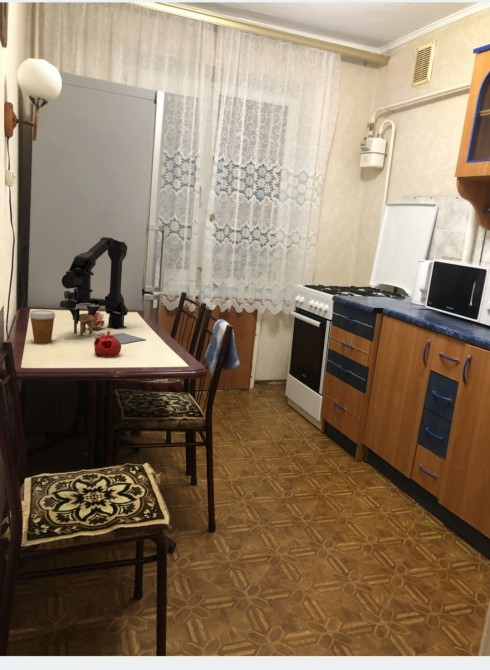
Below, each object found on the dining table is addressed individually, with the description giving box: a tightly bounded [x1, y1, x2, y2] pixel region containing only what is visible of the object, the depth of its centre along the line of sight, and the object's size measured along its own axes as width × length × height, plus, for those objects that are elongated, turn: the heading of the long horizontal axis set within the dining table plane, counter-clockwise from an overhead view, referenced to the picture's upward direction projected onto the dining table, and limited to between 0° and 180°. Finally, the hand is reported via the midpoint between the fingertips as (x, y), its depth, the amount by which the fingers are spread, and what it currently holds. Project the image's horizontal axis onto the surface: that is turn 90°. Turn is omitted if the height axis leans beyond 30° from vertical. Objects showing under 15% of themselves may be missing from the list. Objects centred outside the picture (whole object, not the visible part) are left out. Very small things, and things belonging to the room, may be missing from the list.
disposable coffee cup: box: [29, 309, 56, 345], centre depth 201 cm, size 10×10×12 cm
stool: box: [72, 313, 94, 337], centre depth 214 cm, size 6×6×8 cm
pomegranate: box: [93, 330, 122, 358], centre depth 190 cm, size 10×10×9 cm
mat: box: [94, 332, 146, 345], centre depth 216 cm, size 15×15×1 cm
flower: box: [84, 311, 105, 330], centre depth 232 cm, size 10×9×8 cm
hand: (83, 323), depth 214 cm, fingers closed on stool, 6 cm apart
